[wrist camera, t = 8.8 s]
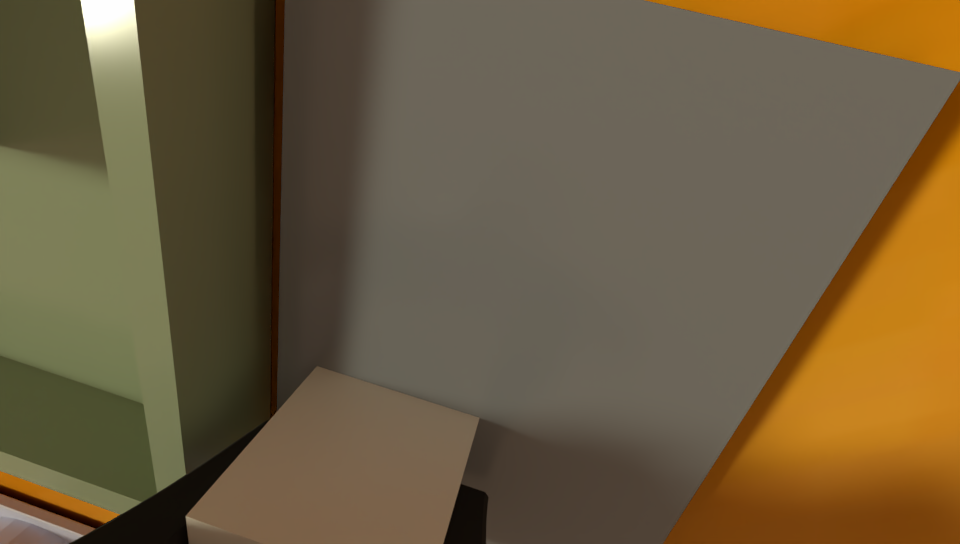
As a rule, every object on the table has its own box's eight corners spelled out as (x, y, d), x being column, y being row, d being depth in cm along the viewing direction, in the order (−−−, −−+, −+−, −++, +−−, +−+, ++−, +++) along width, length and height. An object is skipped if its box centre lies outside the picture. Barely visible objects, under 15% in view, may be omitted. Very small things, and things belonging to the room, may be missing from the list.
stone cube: (447, 527, 12) (392, 719, 9) (309, 479, 13) (201, 645, 9) (479, 417, 10) (425, 602, 7) (316, 365, 11) (185, 515, 7)
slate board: (611, 591, 13) (612, 621, 12) (290, 480, 14) (275, 503, 13) (924, 72, 7) (964, 73, 6) (314, -68, 8) (286, -81, 7)
